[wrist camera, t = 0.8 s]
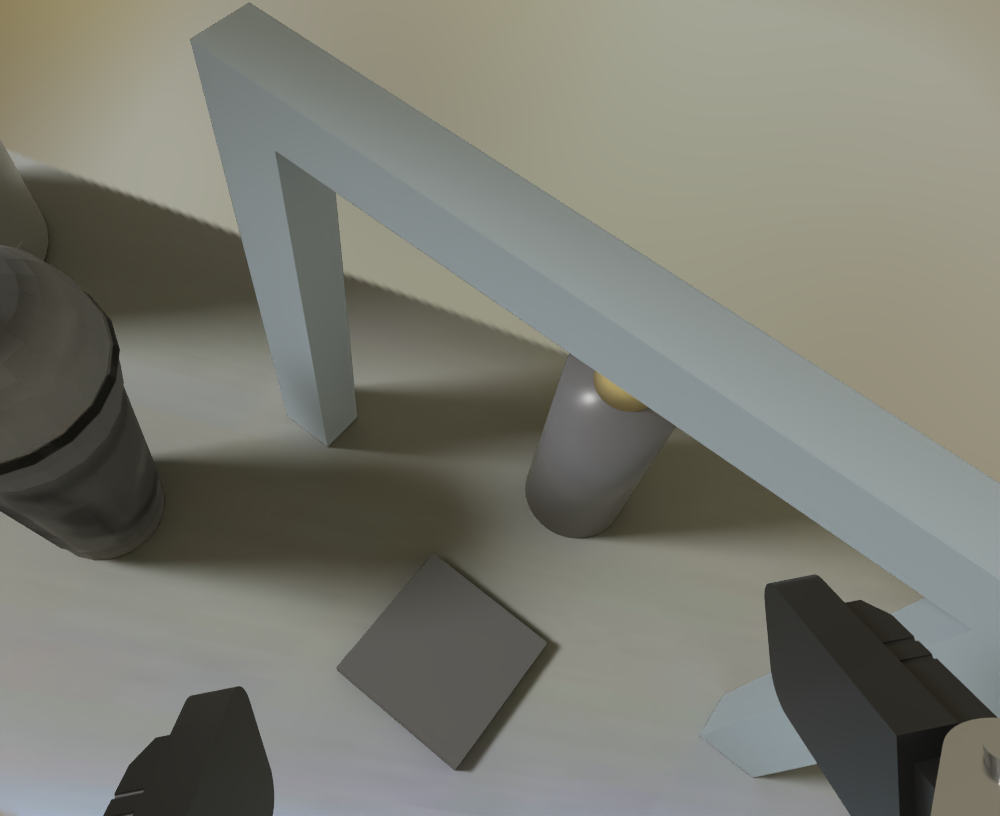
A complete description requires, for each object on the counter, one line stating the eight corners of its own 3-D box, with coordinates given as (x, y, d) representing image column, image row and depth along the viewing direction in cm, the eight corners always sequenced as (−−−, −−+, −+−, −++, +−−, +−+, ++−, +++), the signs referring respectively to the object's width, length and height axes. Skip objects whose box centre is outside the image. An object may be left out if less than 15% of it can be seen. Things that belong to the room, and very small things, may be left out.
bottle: (505, 497, 37) (547, 357, 27) (562, 429, 39) (621, 273, 28) (586, 558, 36) (663, 437, 26) (640, 485, 38) (732, 345, 28)
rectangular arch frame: (286, 415, 38) (189, 38, 20) (317, 386, 39) (249, 2, 21) (752, 777, 32) (1165, 690, 15) (775, 735, 33) (1190, 605, 16)
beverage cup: (234, 500, 36) (75, 160, 18) (95, 630, 32) (-259, 371, 15) (120, 402, 37) (-126, 3, 20) (-23, 517, 34) (-468, 164, 17)
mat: (337, 670, 33) (336, 667, 32) (433, 557, 35) (433, 553, 35) (454, 770, 31) (455, 769, 31) (545, 645, 34) (547, 642, 34)
